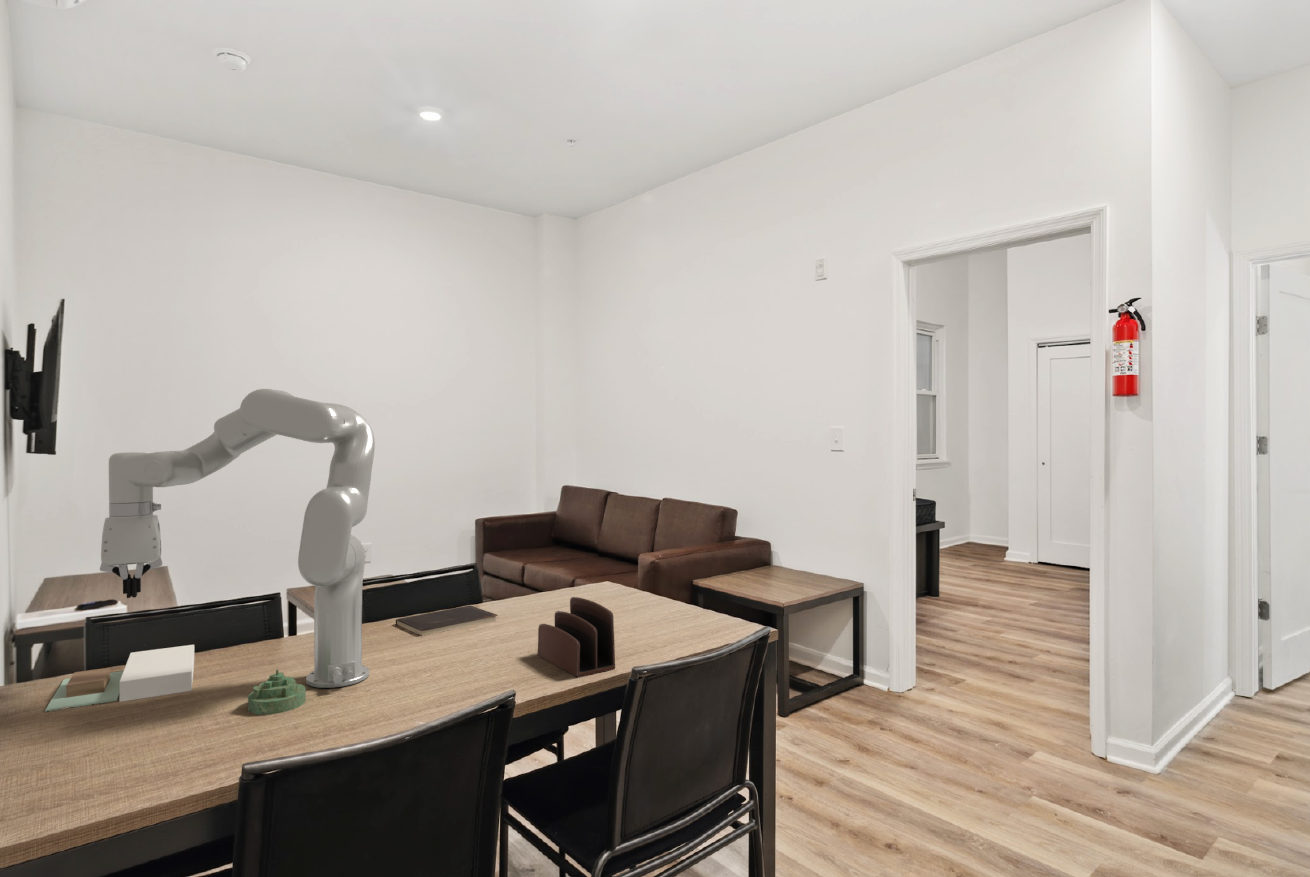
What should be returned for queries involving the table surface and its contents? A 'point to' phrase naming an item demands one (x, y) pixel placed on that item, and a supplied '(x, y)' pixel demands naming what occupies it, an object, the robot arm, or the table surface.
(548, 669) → the table surface
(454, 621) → the hardcover book
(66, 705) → the mat
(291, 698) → the decorative artifact
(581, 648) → the letter holder
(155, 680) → the block
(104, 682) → the walnut tile
